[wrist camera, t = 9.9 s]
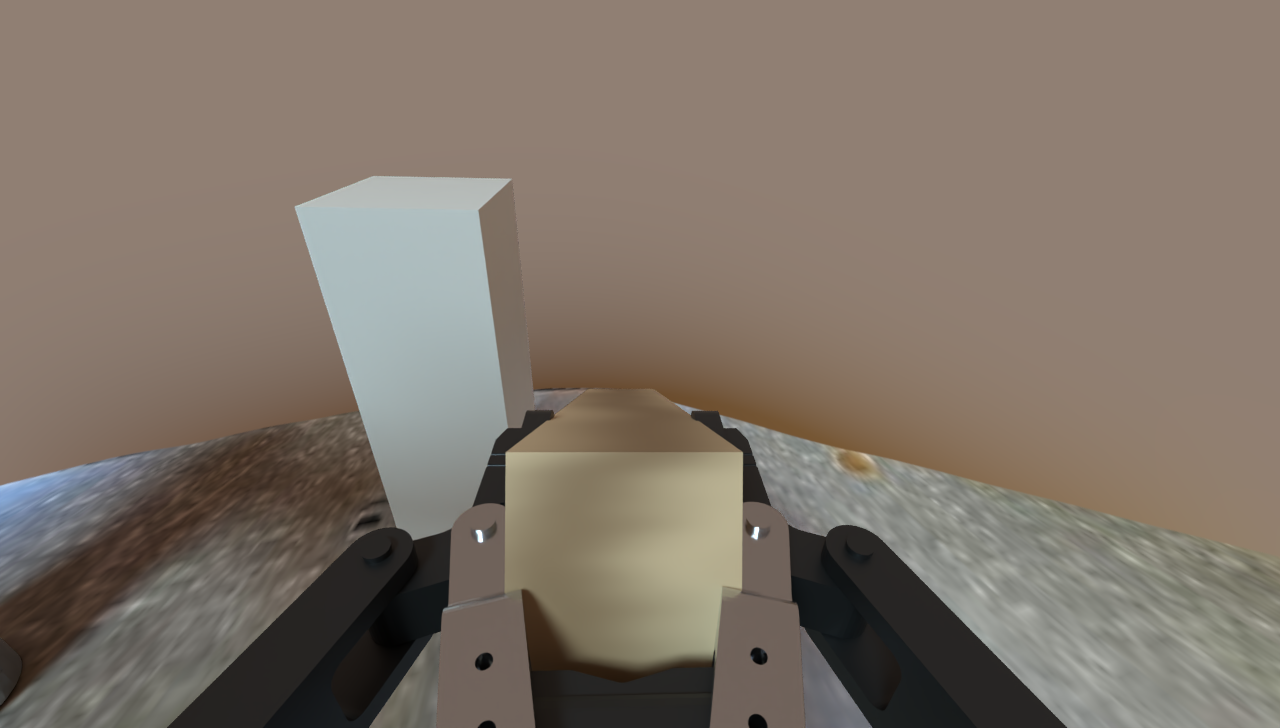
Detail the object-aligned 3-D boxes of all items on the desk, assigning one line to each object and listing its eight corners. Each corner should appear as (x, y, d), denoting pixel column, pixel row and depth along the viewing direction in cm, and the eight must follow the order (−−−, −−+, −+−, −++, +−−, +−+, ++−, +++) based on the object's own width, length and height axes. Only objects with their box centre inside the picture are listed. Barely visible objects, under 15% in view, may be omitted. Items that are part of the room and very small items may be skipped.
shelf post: (397, 591, 42) (264, 210, 26) (441, 490, 53) (365, 173, 37) (538, 588, 43) (492, 214, 27) (554, 489, 53) (528, 176, 37)
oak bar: (503, 691, 8) (505, 452, 8) (587, 453, 30) (588, 388, 30) (741, 686, 8) (743, 451, 8) (652, 453, 30) (653, 389, 30)
